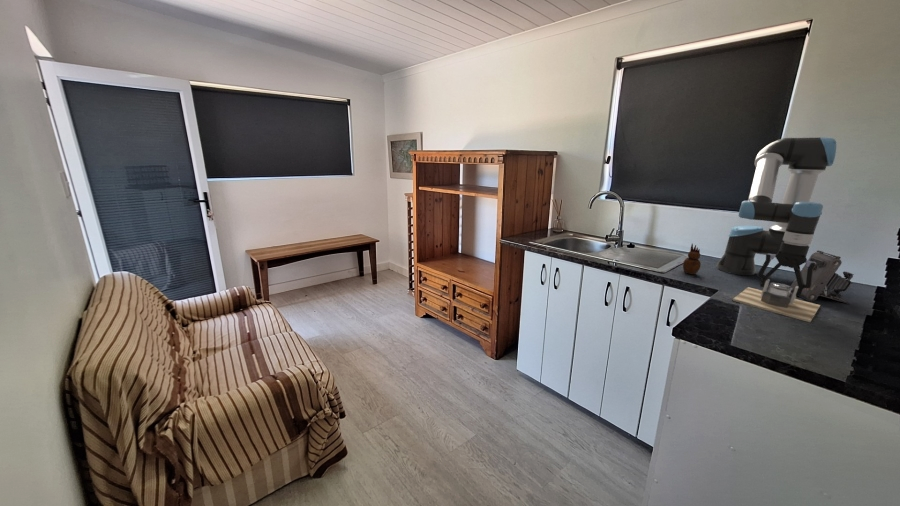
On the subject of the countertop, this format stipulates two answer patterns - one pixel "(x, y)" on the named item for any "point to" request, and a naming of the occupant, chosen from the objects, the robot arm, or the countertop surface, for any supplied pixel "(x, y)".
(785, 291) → the glass jar
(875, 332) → the countertop surface
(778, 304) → the dark grey faceted bowl
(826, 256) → the camera
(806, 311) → the mount board
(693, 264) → the wooden figurine
